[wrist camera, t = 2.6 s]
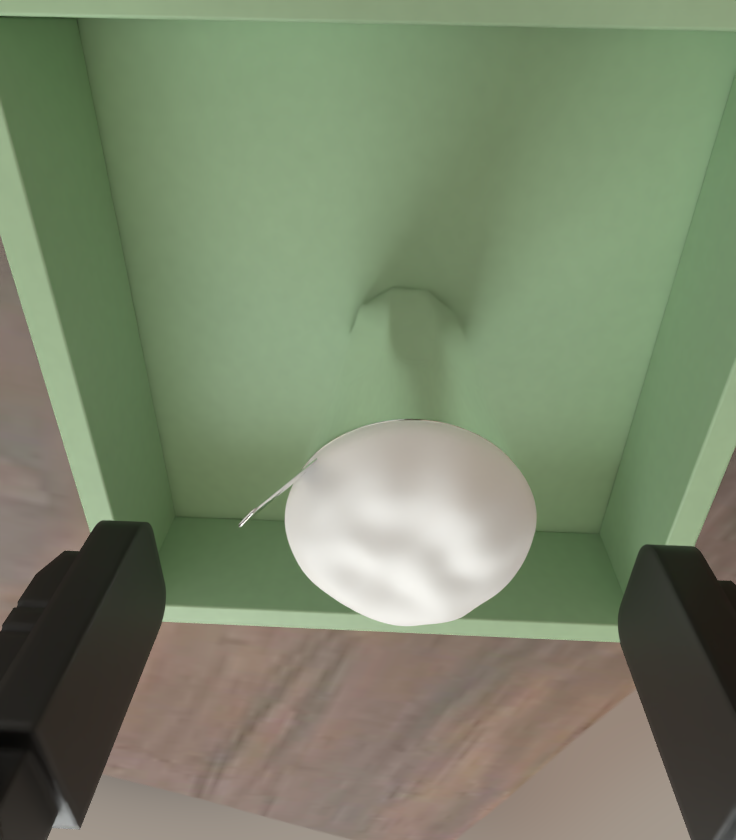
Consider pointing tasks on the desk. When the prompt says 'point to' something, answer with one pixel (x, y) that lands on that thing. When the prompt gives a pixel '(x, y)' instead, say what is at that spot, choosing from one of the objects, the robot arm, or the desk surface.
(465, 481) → the milkshake
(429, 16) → the tote
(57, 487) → the desk surface
